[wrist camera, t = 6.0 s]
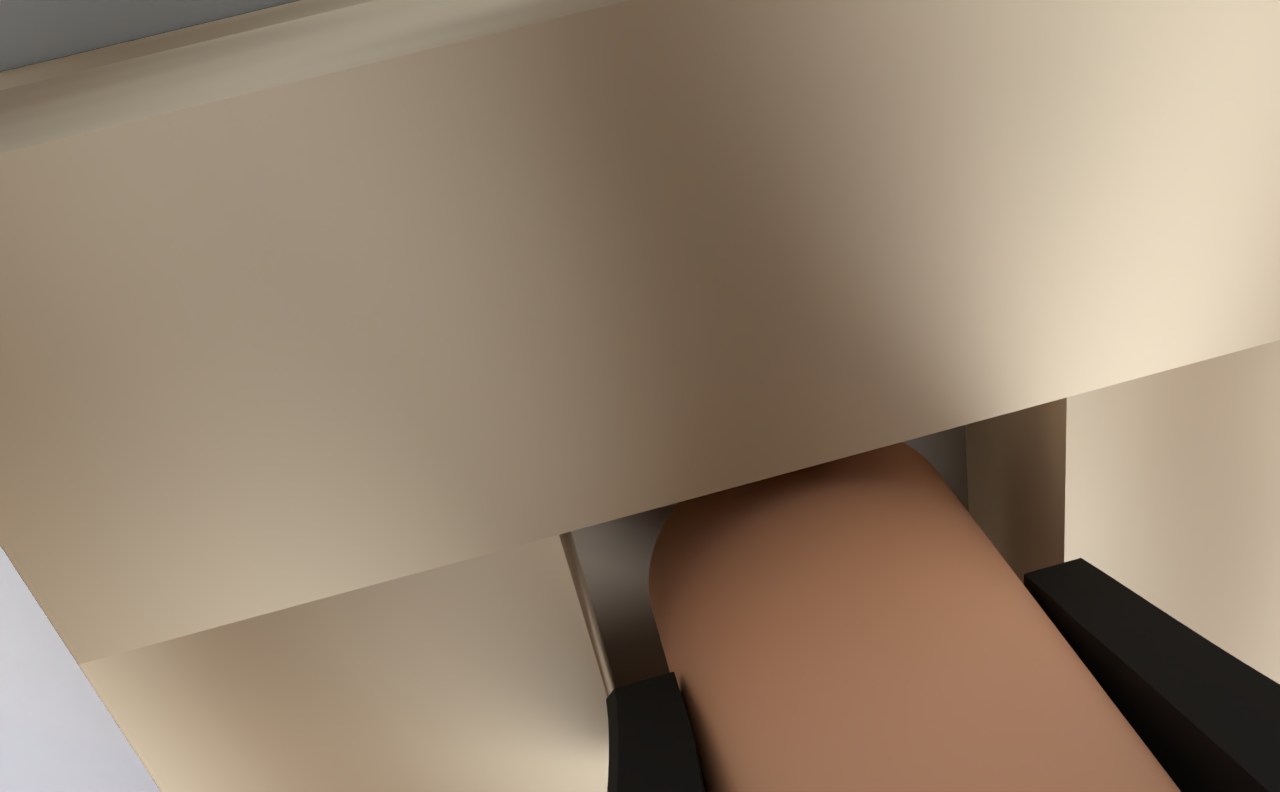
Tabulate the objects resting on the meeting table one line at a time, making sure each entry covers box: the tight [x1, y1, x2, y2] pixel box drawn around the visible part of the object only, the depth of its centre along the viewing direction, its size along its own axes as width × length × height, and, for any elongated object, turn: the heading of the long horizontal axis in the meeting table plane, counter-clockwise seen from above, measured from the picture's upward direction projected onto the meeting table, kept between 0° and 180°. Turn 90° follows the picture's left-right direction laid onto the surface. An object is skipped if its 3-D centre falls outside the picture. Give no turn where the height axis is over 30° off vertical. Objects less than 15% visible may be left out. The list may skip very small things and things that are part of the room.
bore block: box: [0, 0, 1280, 792], centre depth 13 cm, size 14×14×4 cm
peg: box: [648, 442, 1181, 792], centre depth 10 cm, size 4×4×6 cm
